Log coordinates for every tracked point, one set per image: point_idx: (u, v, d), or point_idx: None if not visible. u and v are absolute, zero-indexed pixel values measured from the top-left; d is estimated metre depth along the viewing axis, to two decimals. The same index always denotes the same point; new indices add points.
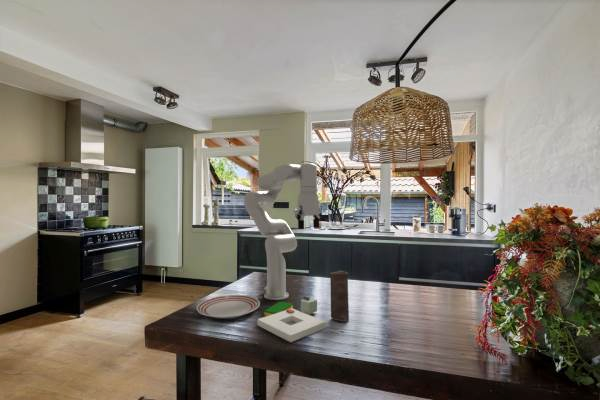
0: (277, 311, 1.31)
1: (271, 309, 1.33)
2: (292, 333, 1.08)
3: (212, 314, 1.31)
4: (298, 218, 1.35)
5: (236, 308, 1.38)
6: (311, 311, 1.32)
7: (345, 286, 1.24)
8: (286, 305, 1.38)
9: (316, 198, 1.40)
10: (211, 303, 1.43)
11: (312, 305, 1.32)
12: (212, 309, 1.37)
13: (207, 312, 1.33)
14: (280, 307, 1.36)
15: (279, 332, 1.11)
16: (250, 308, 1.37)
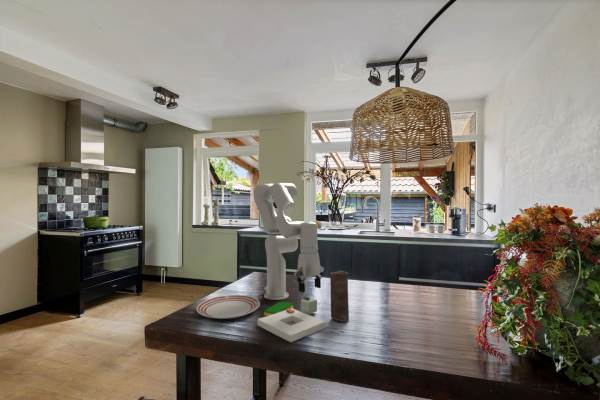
0: (277, 311, 1.31)
1: (271, 309, 1.34)
2: (292, 333, 1.08)
3: (212, 315, 1.31)
4: (298, 281, 1.29)
5: (236, 308, 1.38)
6: (311, 311, 1.32)
7: (345, 286, 1.24)
8: (286, 305, 1.38)
9: (317, 258, 1.34)
10: (211, 303, 1.43)
11: (312, 305, 1.32)
12: (212, 309, 1.37)
13: (207, 313, 1.33)
14: (280, 307, 1.36)
15: (279, 332, 1.11)
16: (250, 308, 1.37)
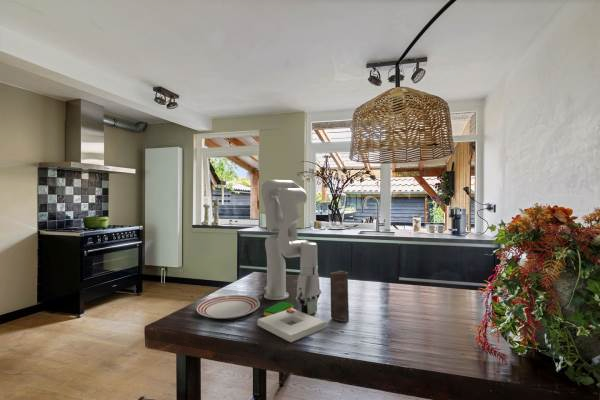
0: (276, 311, 1.31)
1: (271, 309, 1.34)
2: (292, 333, 1.08)
3: (212, 315, 1.31)
4: (301, 303, 1.31)
5: (236, 308, 1.38)
6: (311, 311, 1.32)
7: (345, 286, 1.24)
8: (286, 305, 1.38)
9: (317, 278, 1.34)
10: (211, 303, 1.43)
11: (312, 305, 1.32)
12: (212, 309, 1.37)
13: (207, 313, 1.33)
14: (280, 307, 1.36)
15: (279, 332, 1.11)
16: (250, 308, 1.37)
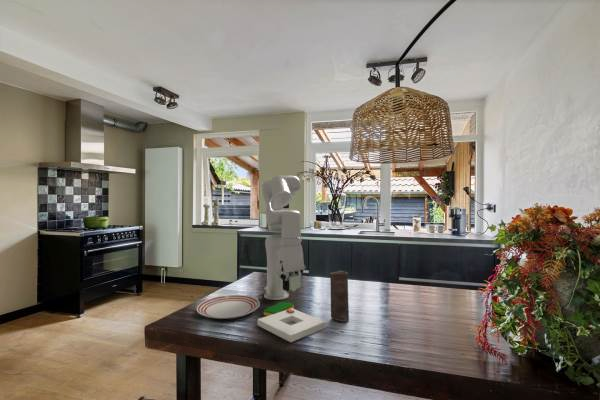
0: (276, 311, 1.31)
1: (270, 309, 1.34)
2: (292, 333, 1.08)
3: (212, 315, 1.31)
4: (282, 278, 1.17)
5: (236, 308, 1.38)
6: (294, 287, 1.17)
7: (345, 286, 1.24)
8: (286, 305, 1.38)
9: (300, 251, 1.20)
10: (211, 303, 1.43)
11: (294, 280, 1.18)
12: (212, 309, 1.37)
13: (207, 313, 1.33)
14: (280, 307, 1.36)
15: (279, 332, 1.11)
16: (250, 308, 1.37)
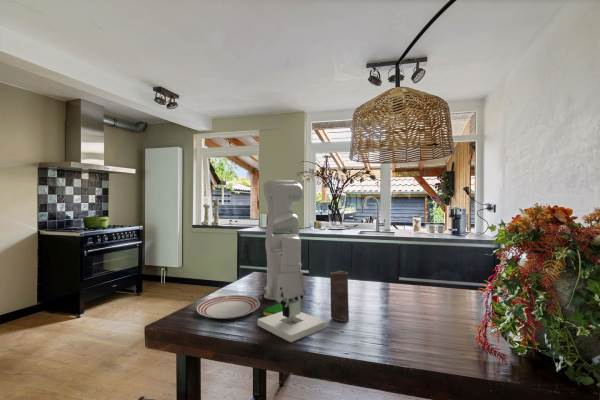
0: (276, 311, 1.31)
1: (270, 309, 1.34)
2: (292, 333, 1.08)
3: (212, 315, 1.31)
4: (282, 305, 1.17)
5: (236, 308, 1.38)
6: (294, 314, 1.17)
7: (345, 286, 1.24)
8: None
9: (300, 276, 1.20)
10: (211, 303, 1.43)
11: (294, 306, 1.18)
12: (212, 309, 1.37)
13: (207, 313, 1.33)
14: (280, 307, 1.36)
15: (279, 332, 1.11)
16: (250, 308, 1.37)
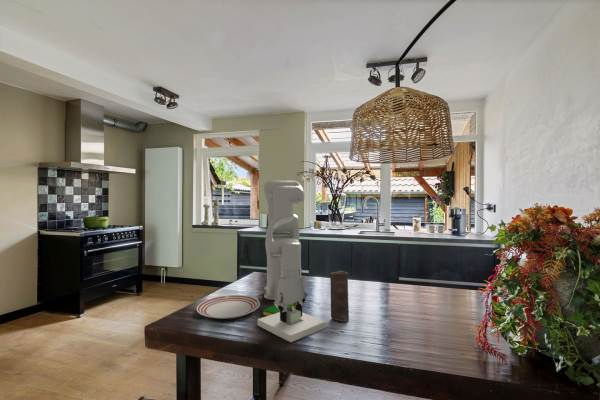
0: (275, 311, 1.31)
1: (270, 309, 1.34)
2: (292, 333, 1.08)
3: (212, 315, 1.31)
4: (280, 310, 1.16)
5: (236, 308, 1.38)
6: None
7: (345, 286, 1.24)
8: None
9: (300, 282, 1.20)
10: (211, 303, 1.43)
11: (294, 317, 1.18)
12: (212, 309, 1.37)
13: (207, 313, 1.33)
14: None
15: (279, 332, 1.11)
16: (250, 308, 1.37)
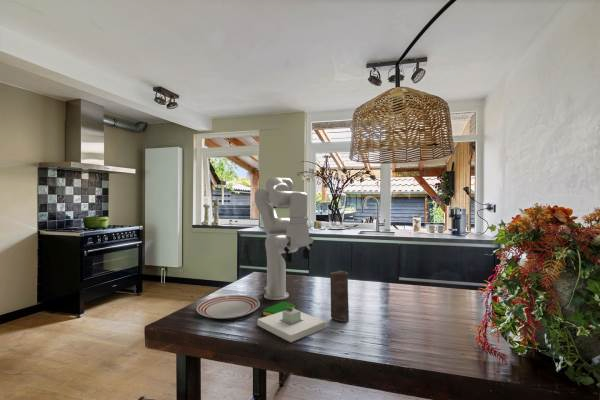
0: (275, 311, 1.31)
1: (270, 309, 1.34)
2: (292, 333, 1.08)
3: (212, 315, 1.31)
4: (286, 251, 1.28)
5: (236, 308, 1.38)
6: None
7: (345, 286, 1.24)
8: (287, 305, 1.38)
9: (306, 229, 1.32)
10: (211, 303, 1.43)
11: (294, 317, 1.18)
12: (212, 309, 1.37)
13: (207, 313, 1.33)
14: (280, 307, 1.36)
15: (279, 332, 1.11)
16: (250, 308, 1.37)
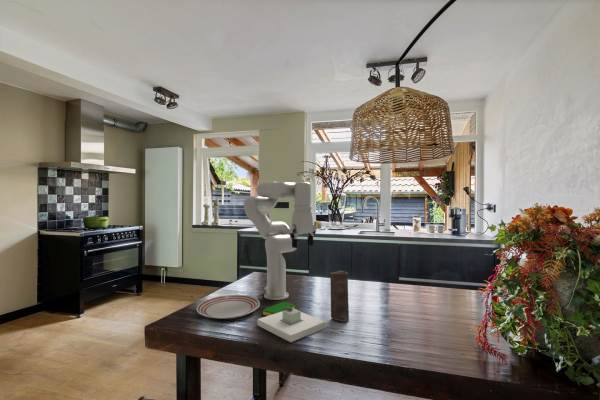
0: (275, 311, 1.31)
1: (270, 308, 1.34)
2: (292, 333, 1.08)
3: (212, 315, 1.31)
4: (292, 237, 1.36)
5: (236, 308, 1.38)
6: None
7: (345, 286, 1.24)
8: (287, 305, 1.38)
9: (310, 216, 1.40)
10: (211, 303, 1.43)
11: (294, 317, 1.18)
12: (212, 309, 1.37)
13: (207, 313, 1.33)
14: (280, 307, 1.36)
15: (279, 332, 1.11)
16: (250, 308, 1.37)
